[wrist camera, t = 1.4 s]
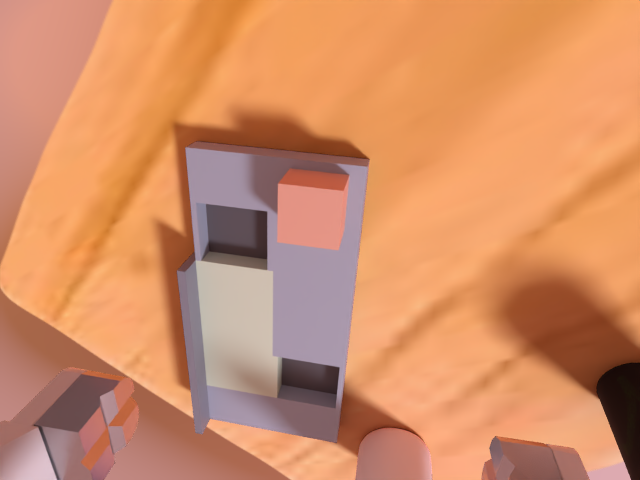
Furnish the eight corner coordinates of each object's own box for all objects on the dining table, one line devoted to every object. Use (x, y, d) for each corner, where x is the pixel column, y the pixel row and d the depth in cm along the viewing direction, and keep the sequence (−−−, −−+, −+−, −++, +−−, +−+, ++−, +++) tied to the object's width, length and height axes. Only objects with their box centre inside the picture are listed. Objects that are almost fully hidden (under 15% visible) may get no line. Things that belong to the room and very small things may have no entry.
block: (290, 168, 32) (277, 183, 29) (349, 174, 31) (343, 190, 28) (288, 222, 34) (277, 242, 31) (344, 229, 33) (338, 250, 30)
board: (187, 140, 34) (163, 153, 31) (369, 159, 32) (365, 175, 29) (210, 403, 48) (195, 432, 44) (339, 427, 46) (333, 460, 43)
